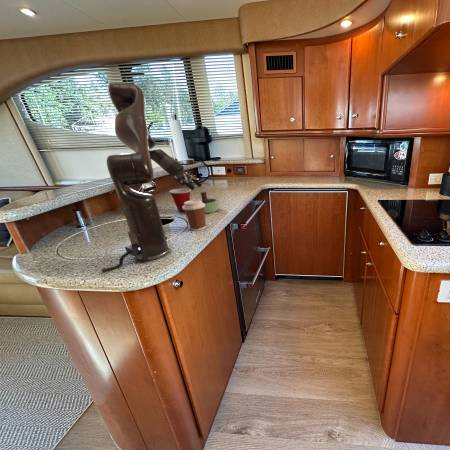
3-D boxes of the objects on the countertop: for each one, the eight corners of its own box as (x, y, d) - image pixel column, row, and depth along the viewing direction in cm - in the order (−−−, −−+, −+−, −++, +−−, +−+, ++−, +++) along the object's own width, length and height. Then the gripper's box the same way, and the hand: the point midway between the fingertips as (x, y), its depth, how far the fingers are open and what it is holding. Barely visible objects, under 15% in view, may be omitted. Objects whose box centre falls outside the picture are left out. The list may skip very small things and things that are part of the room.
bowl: (204, 215, 123) (202, 205, 121) (190, 212, 129) (187, 203, 127) (223, 209, 133) (222, 199, 131) (209, 206, 139) (207, 197, 137)
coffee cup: (198, 223, 110) (193, 198, 106) (213, 225, 107) (208, 199, 103) (182, 230, 103) (176, 203, 99) (198, 232, 99) (192, 205, 95)
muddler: (206, 211, 128) (202, 193, 125) (201, 210, 130) (197, 192, 127) (212, 209, 131) (208, 191, 128) (207, 208, 133) (204, 191, 130)
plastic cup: (189, 213, 128) (185, 191, 124) (170, 214, 129) (164, 192, 125) (198, 207, 138) (194, 187, 134) (180, 208, 139) (175, 188, 135)
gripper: (167, 162, 115) (195, 184, 119) (182, 159, 129) (206, 179, 132) (159, 173, 117) (187, 195, 121) (175, 170, 131) (199, 189, 134)
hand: (197, 187), depth 126 cm, fingers open, 8 cm apart
